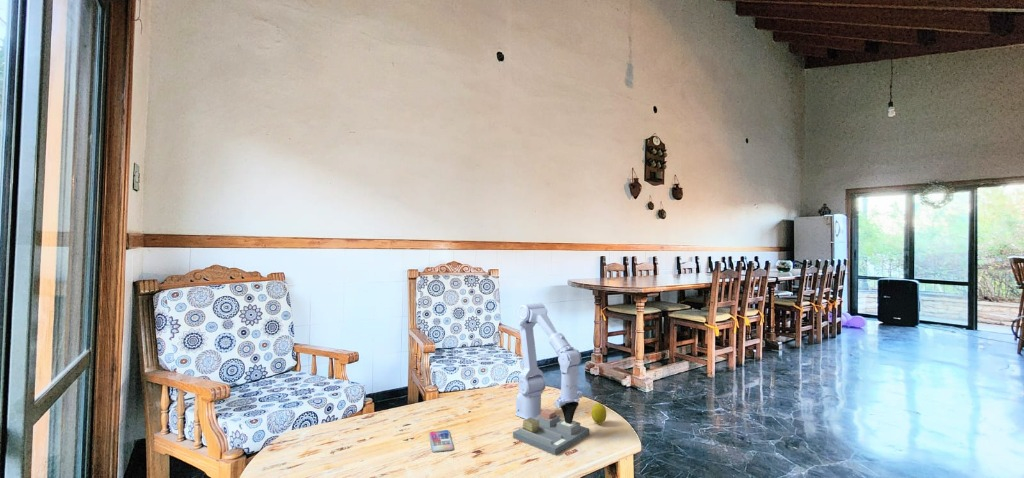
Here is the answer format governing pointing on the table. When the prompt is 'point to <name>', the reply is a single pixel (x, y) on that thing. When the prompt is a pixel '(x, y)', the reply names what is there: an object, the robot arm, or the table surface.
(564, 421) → the cream button
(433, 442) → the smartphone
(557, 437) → the panel
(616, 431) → the table surface
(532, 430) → the slider knob
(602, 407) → the lemon
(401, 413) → the table surface
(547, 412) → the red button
